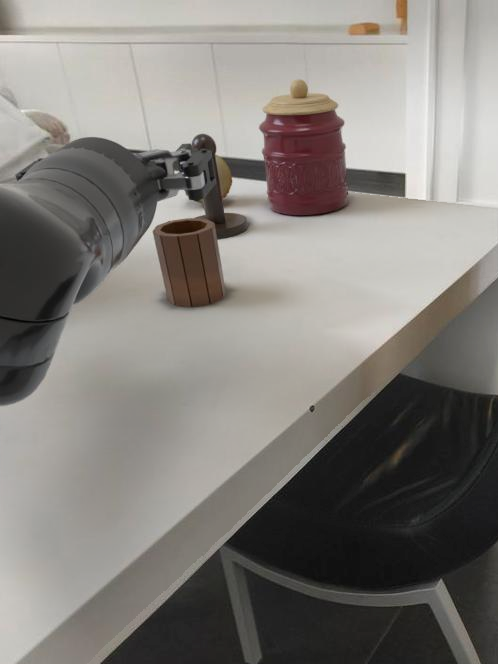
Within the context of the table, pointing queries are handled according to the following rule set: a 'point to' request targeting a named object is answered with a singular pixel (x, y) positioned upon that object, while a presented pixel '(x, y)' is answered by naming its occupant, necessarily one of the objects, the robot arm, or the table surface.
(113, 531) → the table surface
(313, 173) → the kitchen canister
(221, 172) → the fruit
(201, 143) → the round-topped peg stand
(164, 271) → the wooden slatted cup
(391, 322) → the table surface
